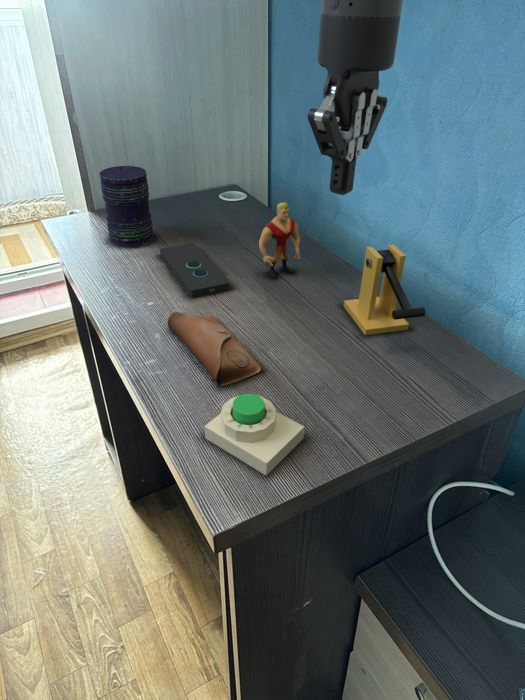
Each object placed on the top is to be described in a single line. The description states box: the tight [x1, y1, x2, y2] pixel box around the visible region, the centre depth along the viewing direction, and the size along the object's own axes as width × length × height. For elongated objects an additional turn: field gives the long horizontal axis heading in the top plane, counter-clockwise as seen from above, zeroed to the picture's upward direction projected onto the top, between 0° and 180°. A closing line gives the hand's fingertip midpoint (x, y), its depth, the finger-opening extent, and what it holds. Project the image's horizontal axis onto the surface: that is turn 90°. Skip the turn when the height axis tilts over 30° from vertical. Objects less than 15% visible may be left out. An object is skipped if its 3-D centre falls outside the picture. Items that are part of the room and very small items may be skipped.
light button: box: [233, 393, 265, 425], centre depth 65 cm, size 4×4×2 cm
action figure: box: [258, 201, 301, 279], centre depth 101 cm, size 10×4×15 cm, turn 123°
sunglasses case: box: [167, 311, 263, 387], centre depth 82 cm, size 18×7×7 cm, turn 32°
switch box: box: [204, 395, 305, 476], centre depth 66 cm, size 10×8×4 cm
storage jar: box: [99, 165, 154, 249], centre depth 113 cm, size 10×10×15 cm
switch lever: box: [376, 249, 426, 320], centre depth 83 cm, size 13×5×2 cm, turn 14°
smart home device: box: [159, 242, 230, 298], centre depth 105 cm, size 8×2×20 cm
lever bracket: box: [343, 244, 410, 336], centre depth 89 cm, size 10×8×13 cm
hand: (340, 191), depth 59 cm, fingers closed
